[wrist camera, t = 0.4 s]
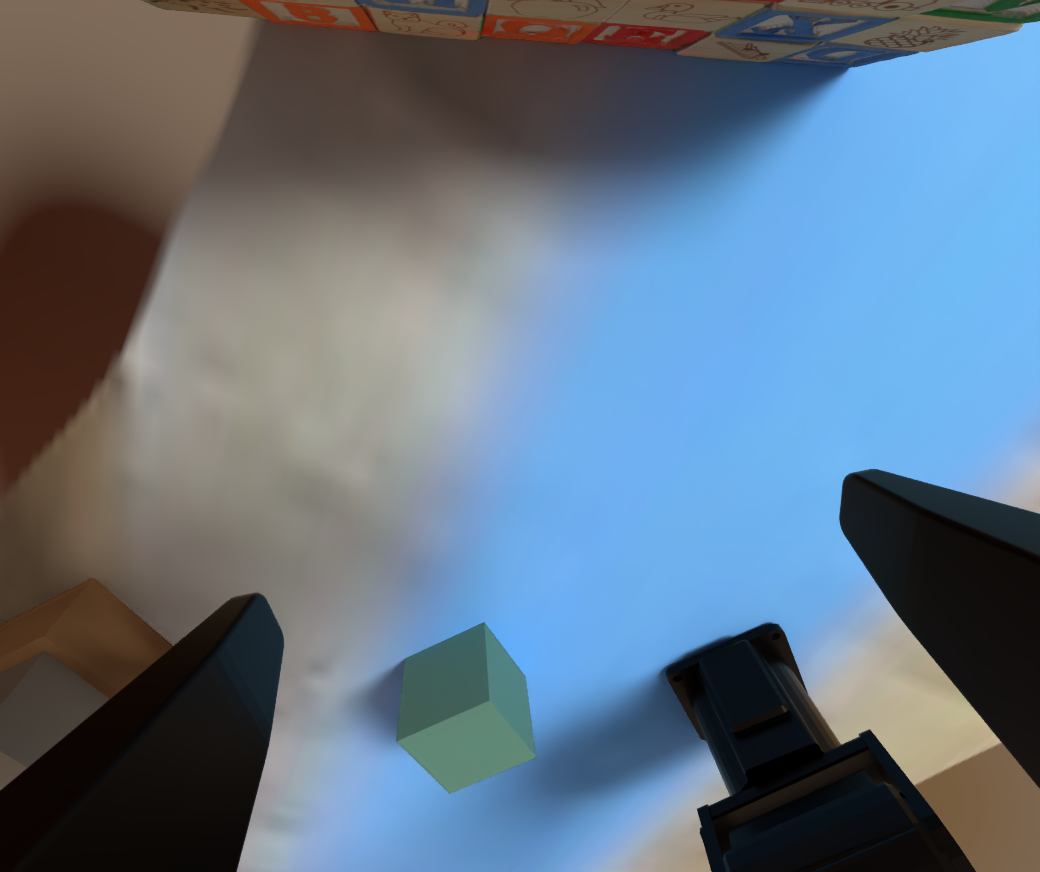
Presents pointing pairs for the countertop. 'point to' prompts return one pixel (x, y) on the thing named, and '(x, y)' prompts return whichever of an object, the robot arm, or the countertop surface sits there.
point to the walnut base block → (85, 637)
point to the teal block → (465, 710)
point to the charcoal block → (39, 710)
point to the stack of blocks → (669, 23)
